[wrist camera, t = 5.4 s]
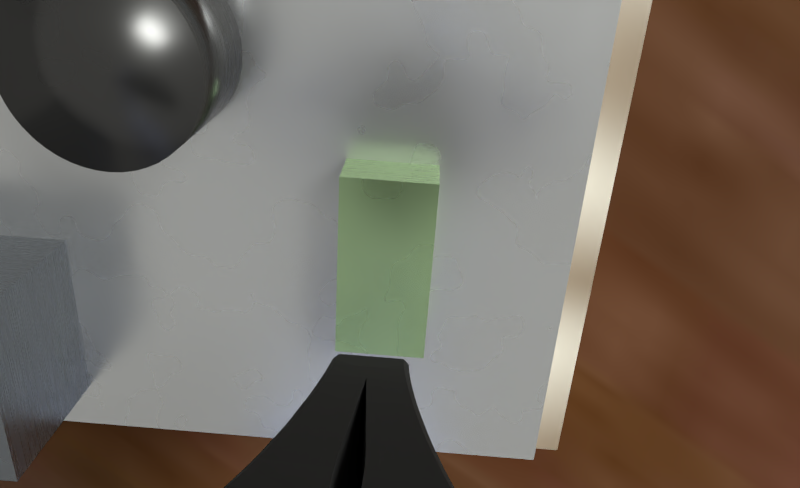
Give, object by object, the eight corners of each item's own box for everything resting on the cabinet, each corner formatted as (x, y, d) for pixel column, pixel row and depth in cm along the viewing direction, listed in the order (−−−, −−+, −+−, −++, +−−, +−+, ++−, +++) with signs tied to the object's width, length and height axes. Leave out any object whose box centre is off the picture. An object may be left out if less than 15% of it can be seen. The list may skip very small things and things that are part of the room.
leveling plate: (529, 438, 22) (552, 569, 18) (-125, 384, 23) (-265, 498, 18) (615, -24, 16) (684, -4, 12) (-285, -86, 17) (-557, -90, 12)
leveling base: (548, 410, 24) (556, 449, 22) (-105, 357, 25) (-148, 391, 23) (637, -39, 18) (659, -35, 16) (-252, -100, 18) (-327, -102, 16)
